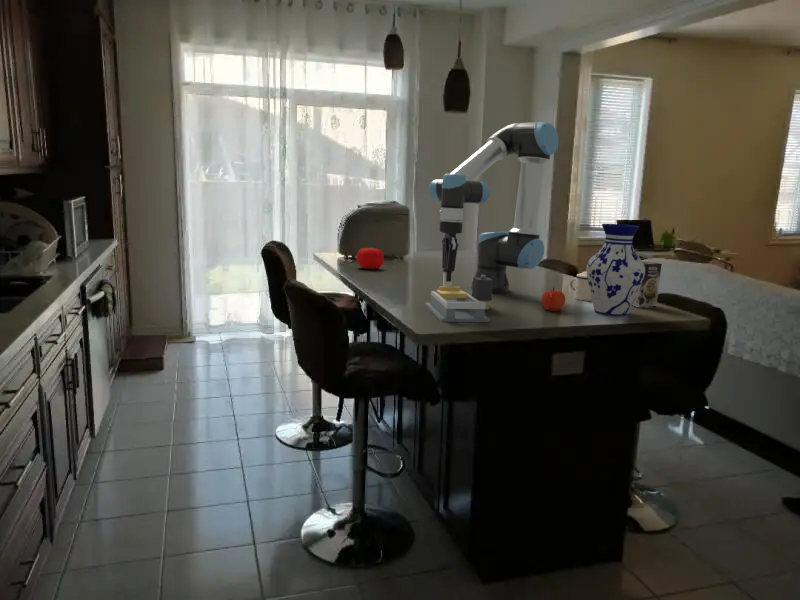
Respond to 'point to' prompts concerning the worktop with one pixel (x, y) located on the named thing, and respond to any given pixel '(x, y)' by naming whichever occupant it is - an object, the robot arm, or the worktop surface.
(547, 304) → the apple
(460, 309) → the socket
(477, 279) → the plug
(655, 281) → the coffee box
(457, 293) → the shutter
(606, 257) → the vase
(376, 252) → the tomato
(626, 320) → the worktop surface
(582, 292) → the teacup with lid
